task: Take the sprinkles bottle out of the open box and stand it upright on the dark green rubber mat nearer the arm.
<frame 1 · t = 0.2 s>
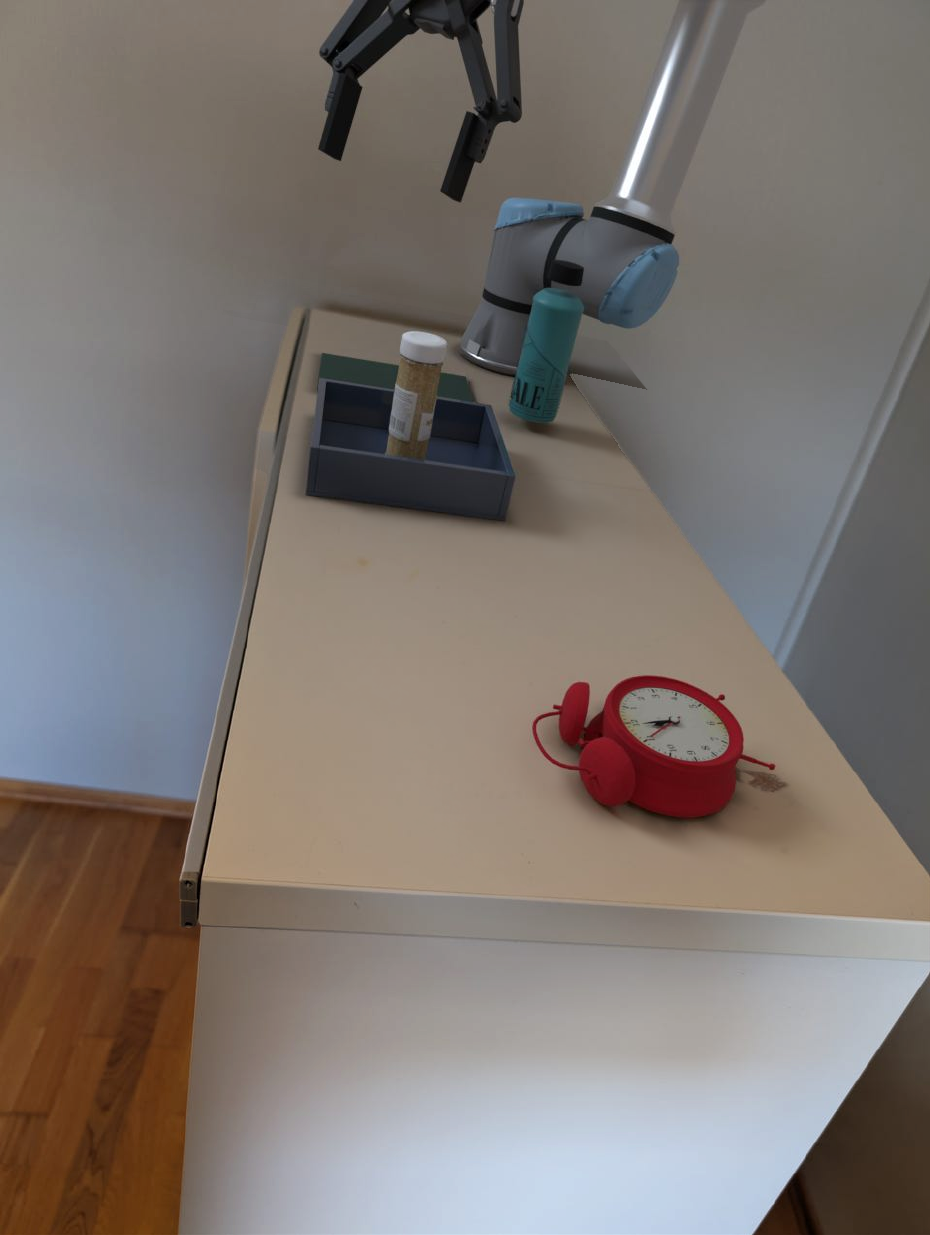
hand: (388, 176, 78), 27 cm above the table, tool tilted 15°, fingers open, 13 cm apart
open box: (403, 466, 92), on the table
beverage bottle: (528, 426, 111), on the table
mat: (396, 385, 113), on the table
alarm clock: (633, 766, 58), on the table
sprinkles bottle: (403, 465, 92), resting on open box
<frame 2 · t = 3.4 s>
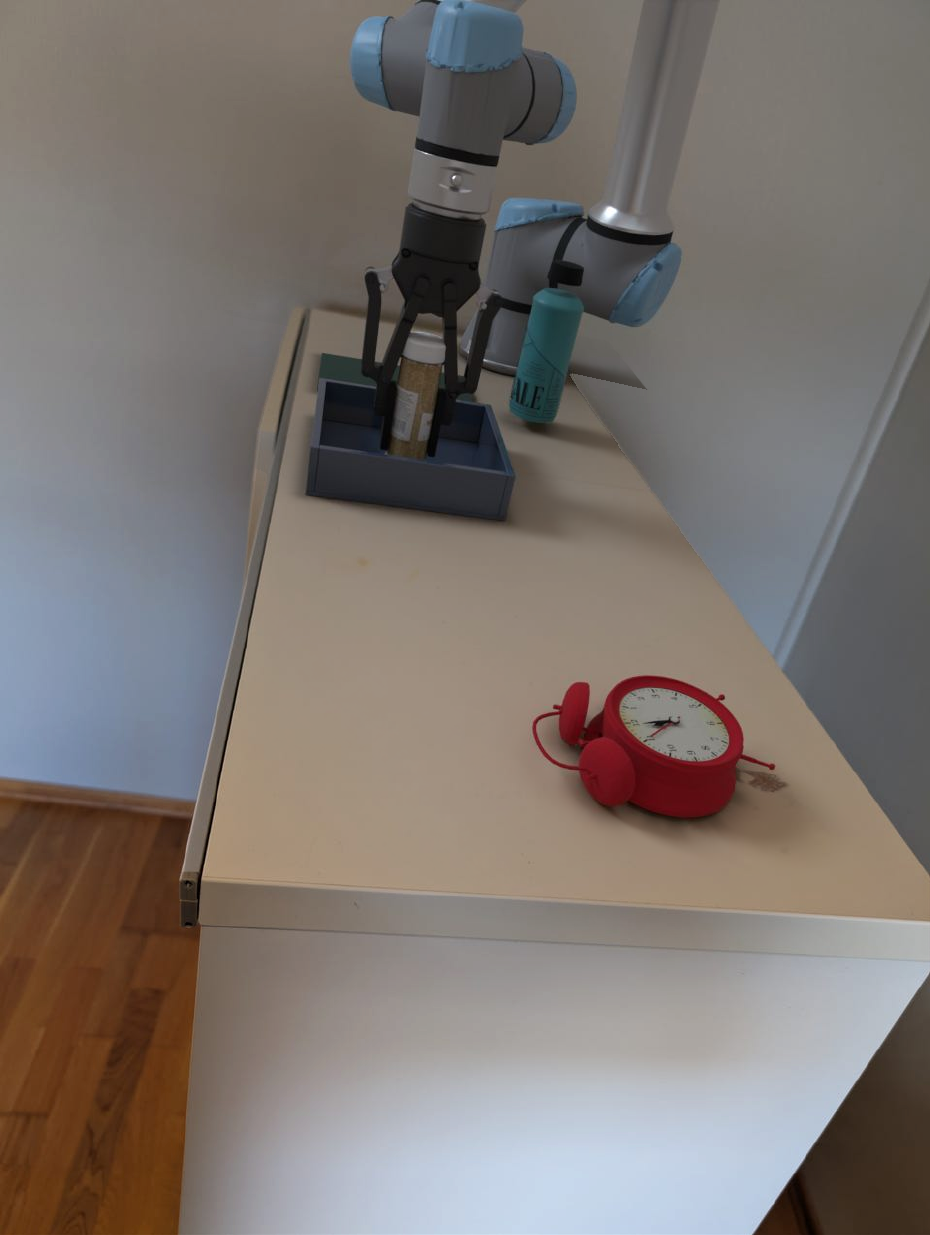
hand: (407, 447, 90), 2 cm above the table, tool pointing down, fingers closed on sprinkles bottle, 4 cm apart
sprinkles bottle: (403, 464, 92), resting on open box, touching gripper
everything else where it was.
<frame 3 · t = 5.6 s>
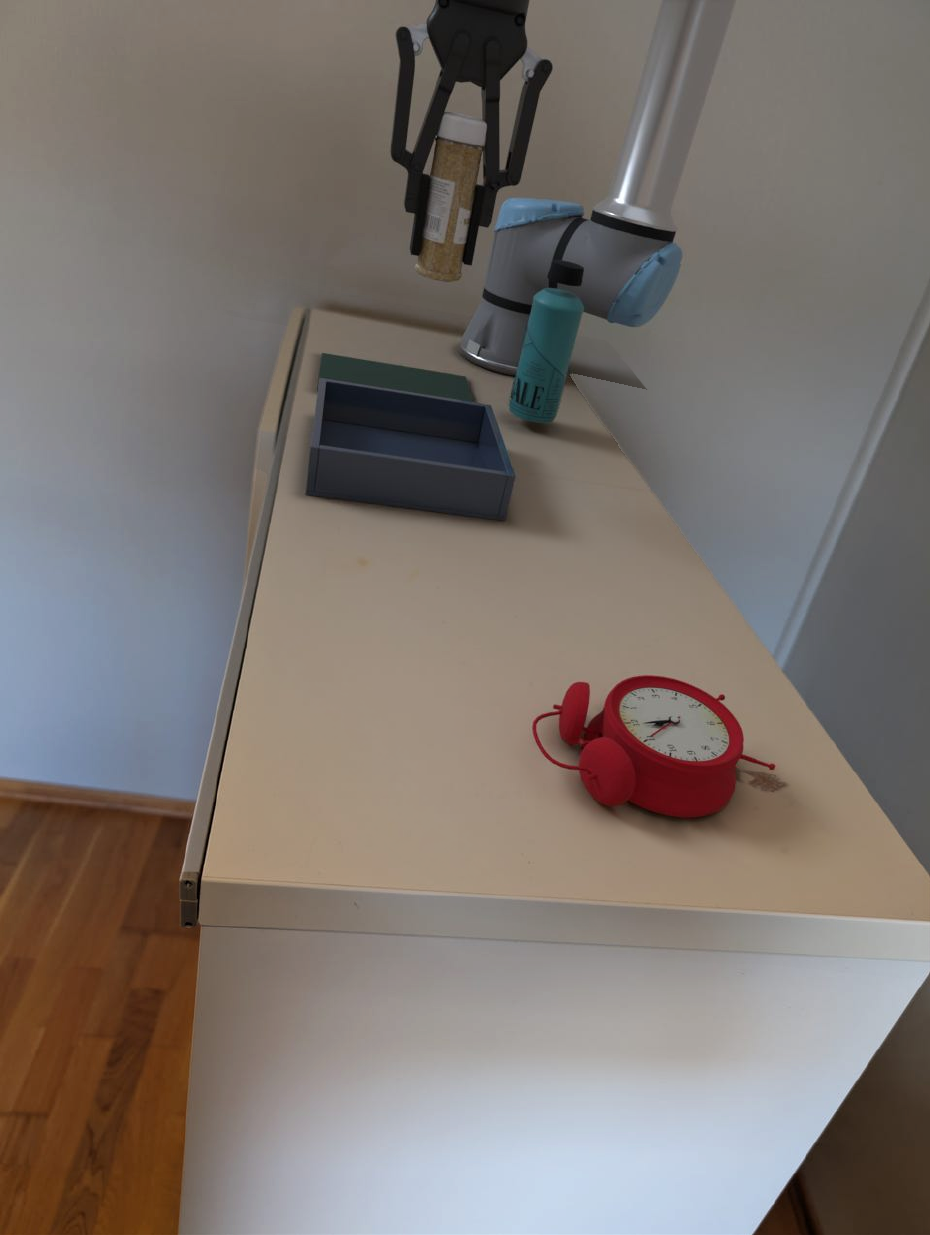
hand: (440, 256, 81), 21 cm above the table, tool pointing down, fingers closed on sprinkles bottle, 4 cm apart
sprinkles bottle: (436, 278, 82), point 19 cm above the table, touching gripper
everything else where it was.
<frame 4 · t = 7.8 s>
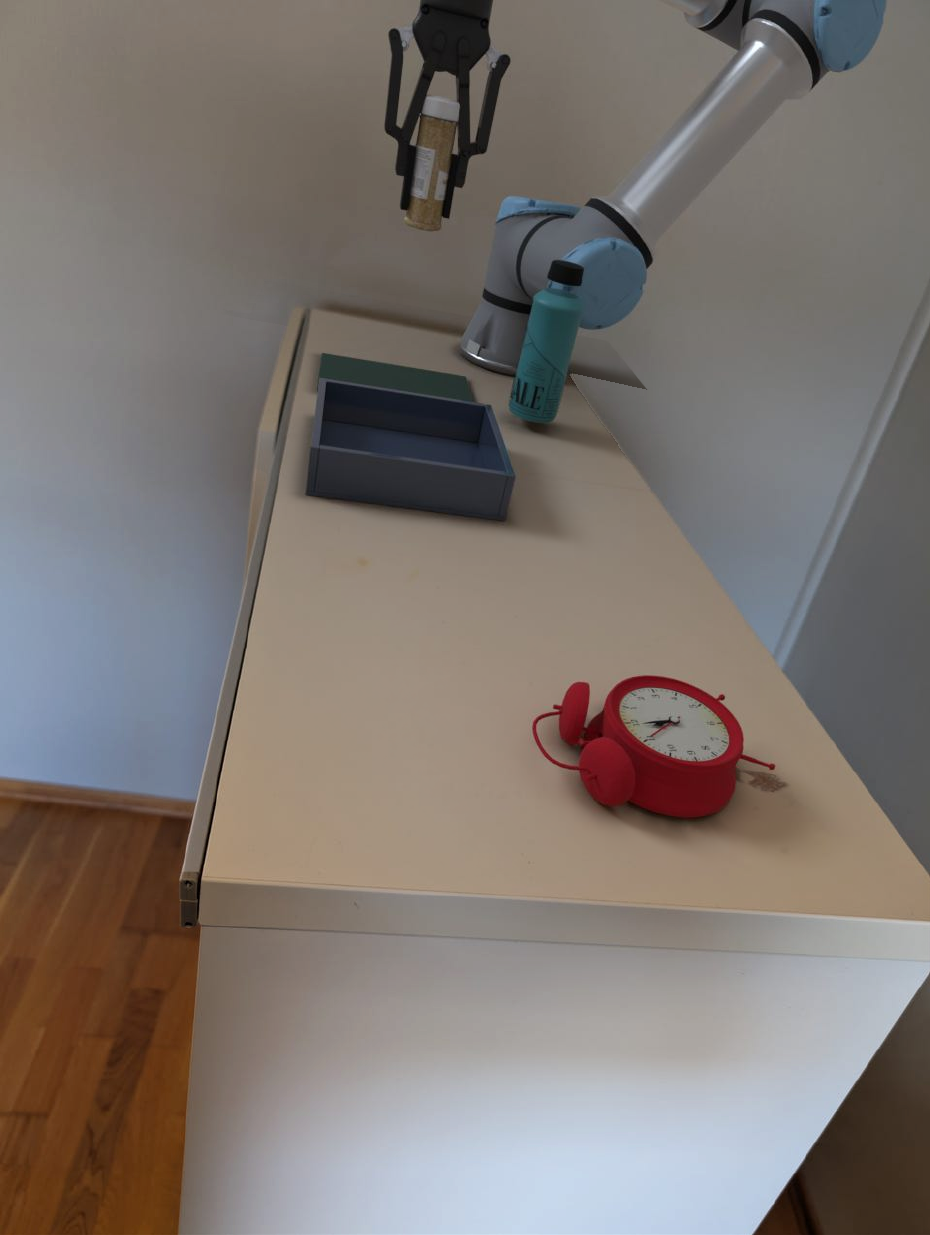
hand: (424, 211, 101), 21 cm above the table, tool pointing down, fingers closed on sprinkles bottle, 4 cm apart
sprinkles bottle: (421, 229, 102), point 19 cm above the table, touching gripper
everything else where it was.
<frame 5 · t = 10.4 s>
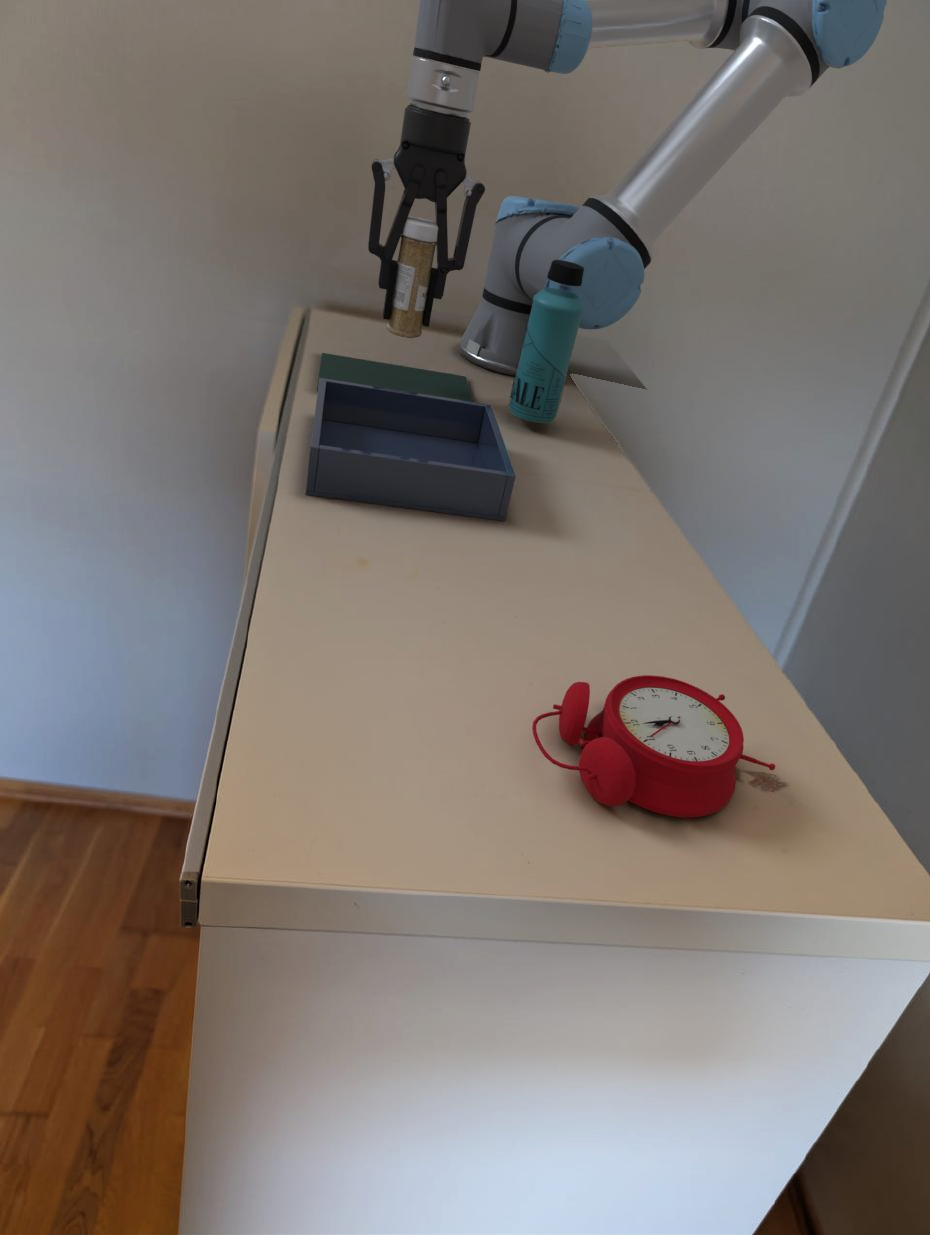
hand: (405, 319, 109), 9 cm above the table, tool pointing down, fingers closed on sprinkles bottle, 4 cm apart
sprinkles bottle: (403, 334, 110), point 7 cm above the table, touching gripper
everything else where it was.
when the fingers open (2 cm above the table, at t = 12.2 s): sprinkles bottle stays where it is, resting on mat.
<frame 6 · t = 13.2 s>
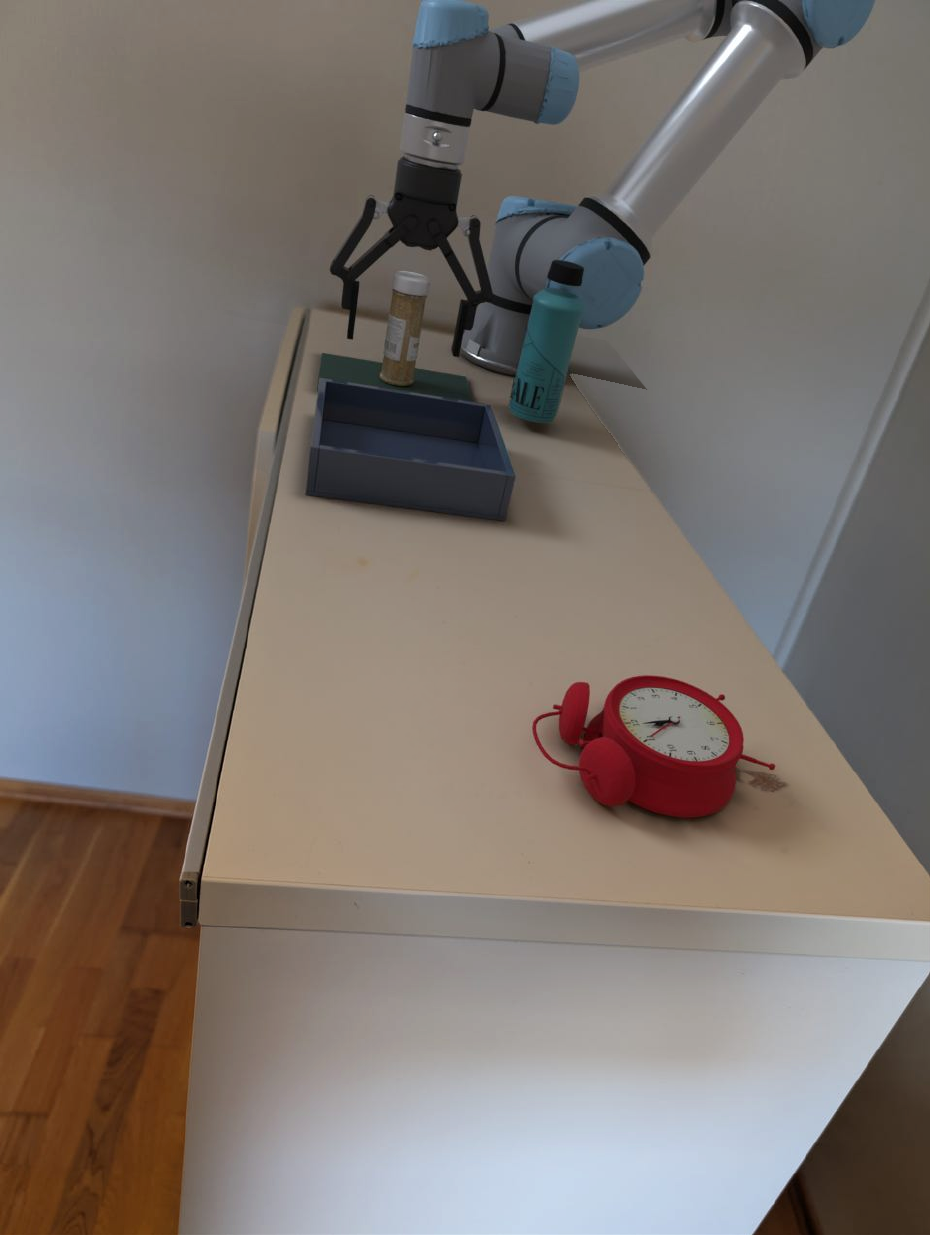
hand: (403, 345, 110), 5 cm above the table, tool pointing down, fingers open, 13 cm apart
sprinkles bottle: (395, 382, 113), resting on mat
everything else where it was.
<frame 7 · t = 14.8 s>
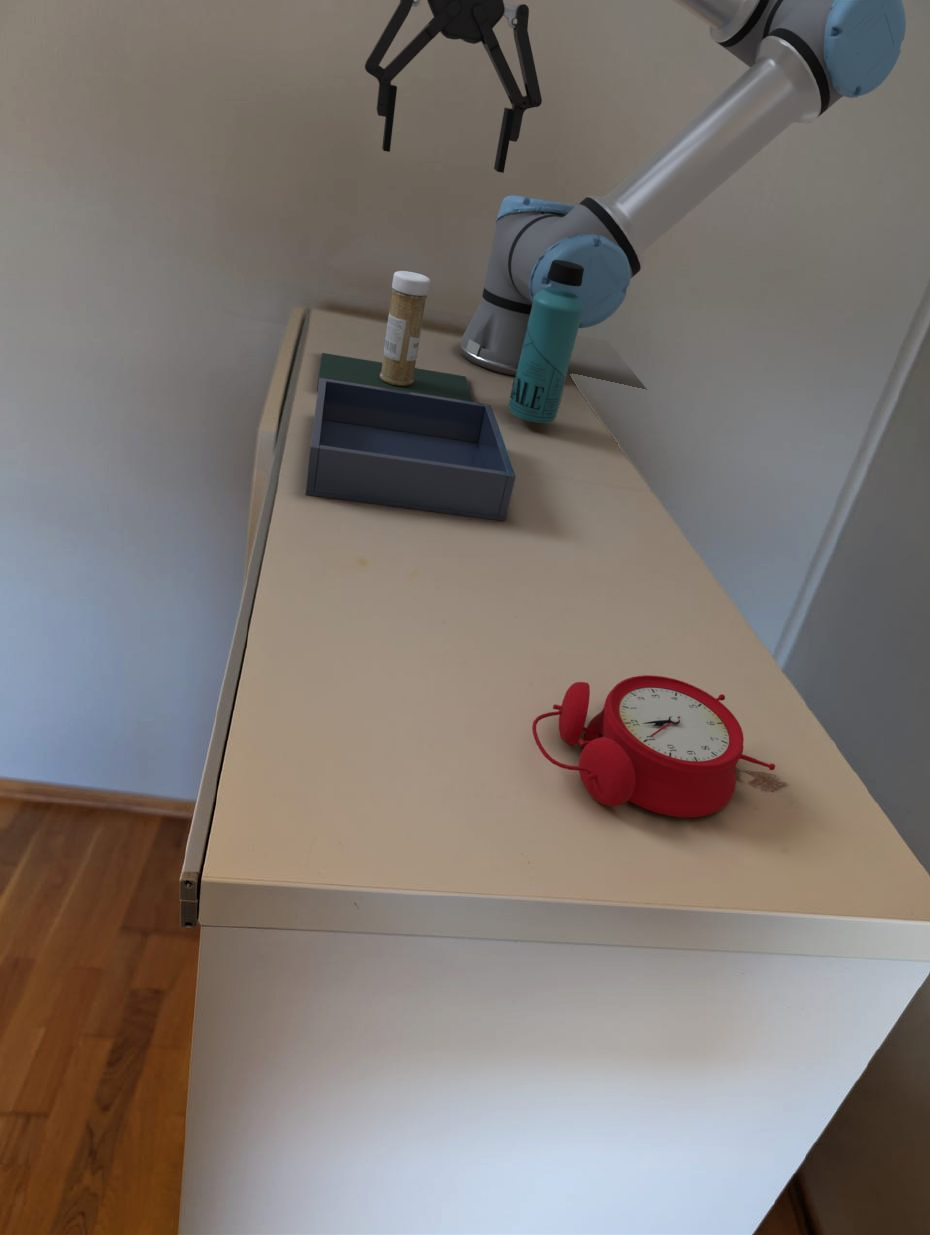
hand: (443, 161, 102), 27 cm above the table, tool pointing down, fingers open, 13 cm apart
nothing on the table moved.
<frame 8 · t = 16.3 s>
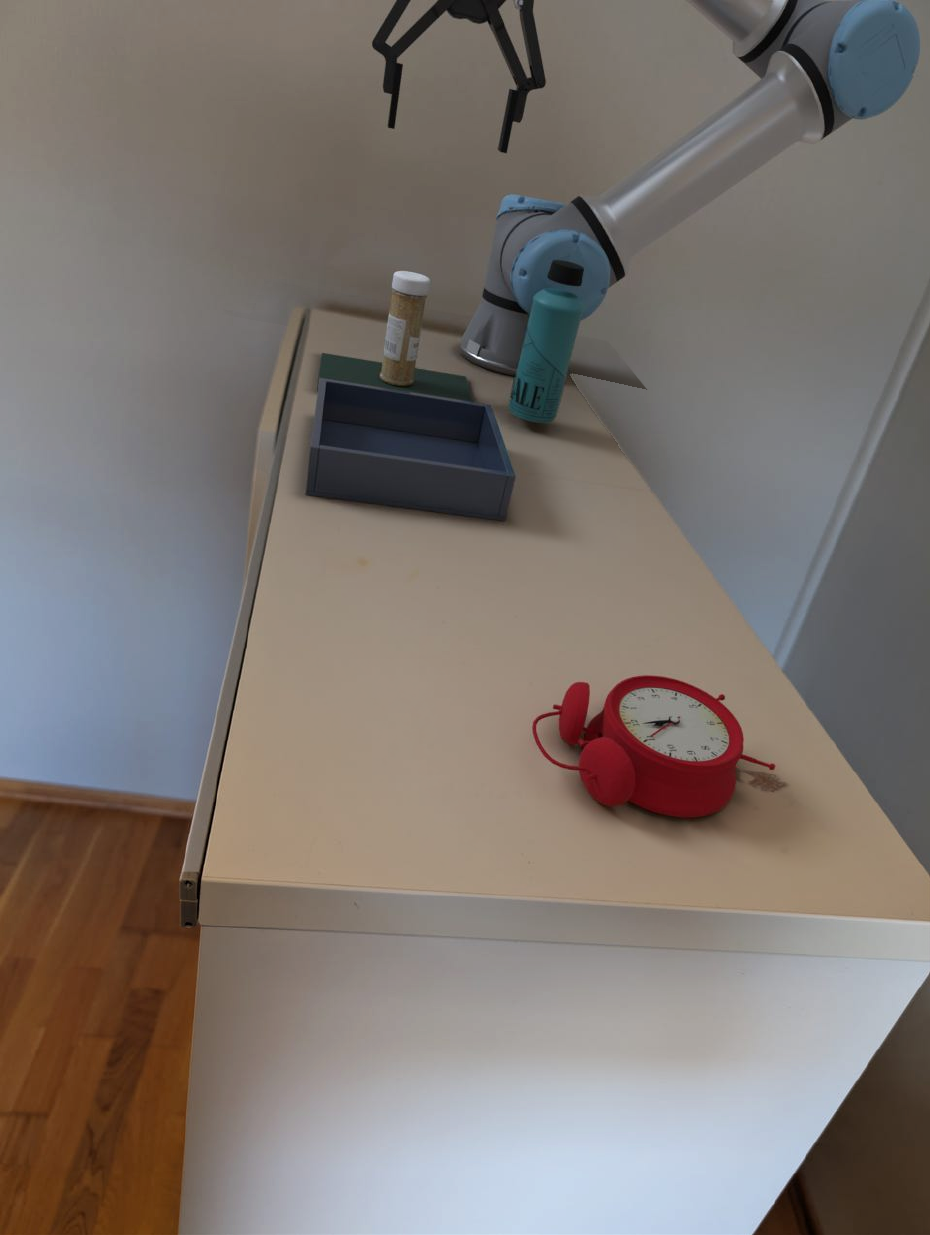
hand: (447, 140, 103), 29 cm above the table, tool pointing down, fingers open, 13 cm apart
nothing on the table moved.
at the end: sprinkles bottle inside the target area on the mat (0.1 cm from its centre), point 0.4 cm above the mat's base; sprinkles bottle tilted 0°; sprinkles bottle touching mat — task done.
